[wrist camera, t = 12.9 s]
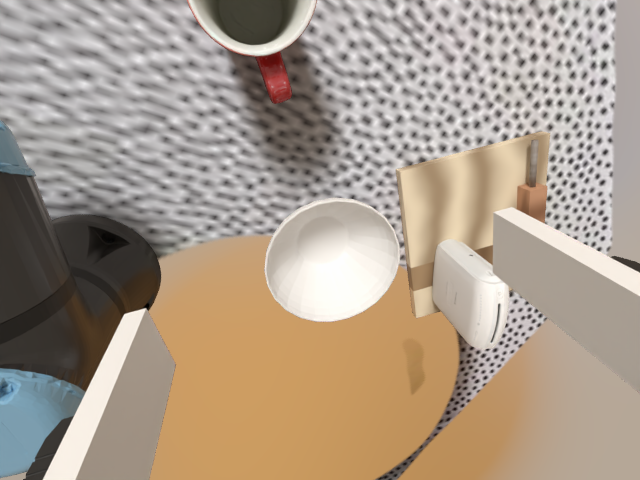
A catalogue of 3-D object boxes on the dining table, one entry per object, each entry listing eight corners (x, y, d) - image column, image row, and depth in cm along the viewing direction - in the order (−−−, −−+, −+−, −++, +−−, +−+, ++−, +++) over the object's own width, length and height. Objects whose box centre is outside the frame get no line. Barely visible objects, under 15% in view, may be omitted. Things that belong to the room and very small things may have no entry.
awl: (530, 234, 52) (542, 241, 50) (515, 238, 52) (526, 245, 50) (536, 136, 46) (551, 139, 44) (519, 141, 46) (532, 144, 44)
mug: (188, -36, 34) (157, -93, 22) (283, -55, 35) (303, -121, 23) (230, 105, 40) (223, 121, 28) (311, 86, 40) (339, 94, 28)
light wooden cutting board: (412, 312, 56) (416, 318, 55) (395, 169, 46) (400, 172, 45) (531, 277, 58) (538, 282, 57) (541, 131, 48) (550, 133, 46)
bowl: (386, 179, 47) (408, 196, 40) (375, 287, 53) (392, 316, 47) (258, 183, 44) (261, 202, 38) (264, 296, 50) (267, 328, 44)
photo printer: (433, 239, 50) (487, 288, 39) (462, 235, 50) (524, 282, 39) (428, 302, 54) (475, 361, 43) (455, 298, 55) (508, 355, 44)
